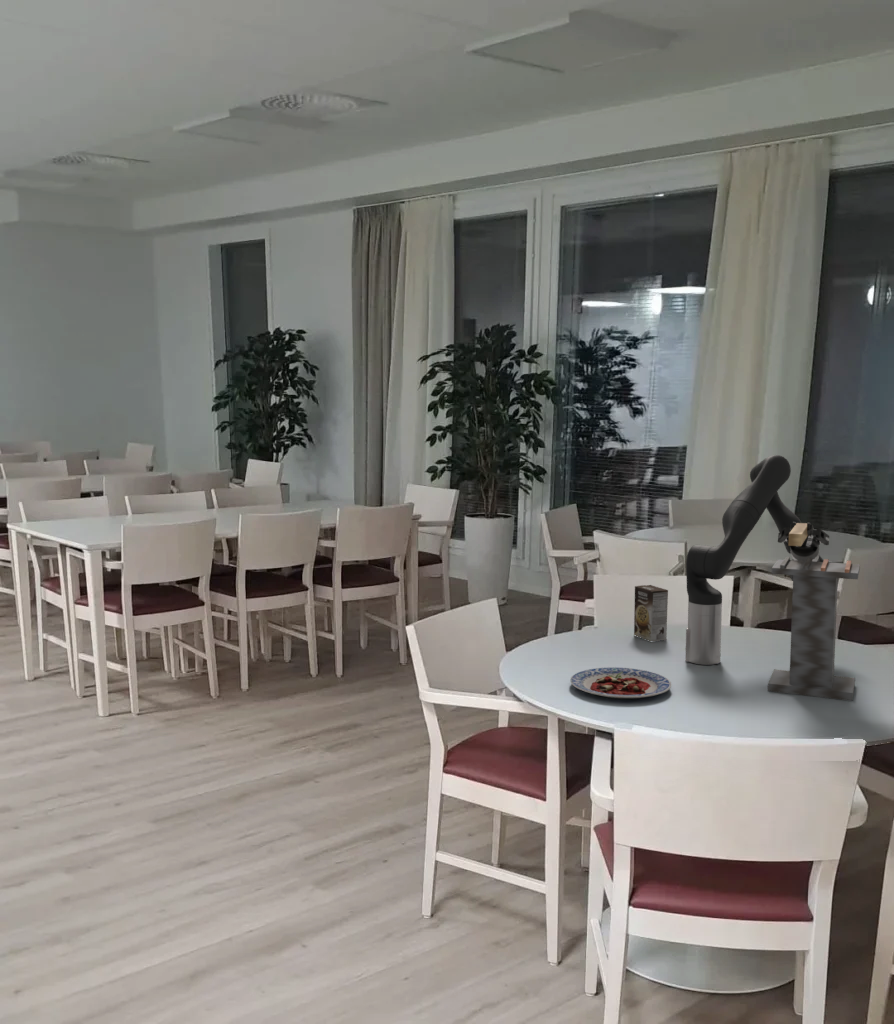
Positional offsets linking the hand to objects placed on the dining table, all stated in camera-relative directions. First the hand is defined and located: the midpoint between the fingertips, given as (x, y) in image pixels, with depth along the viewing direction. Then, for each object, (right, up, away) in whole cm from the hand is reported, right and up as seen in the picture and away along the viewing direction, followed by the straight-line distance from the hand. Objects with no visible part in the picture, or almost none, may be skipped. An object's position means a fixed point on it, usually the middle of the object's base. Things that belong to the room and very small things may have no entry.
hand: (801, 525), depth 252 cm
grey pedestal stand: (0, -42, -6) cm, 42 cm away
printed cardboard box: (-30, -36, +46) cm, 66 cm away
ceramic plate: (-49, -43, -5) cm, 65 cm away
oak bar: (-3, -4, -5) cm, 7 cm away
